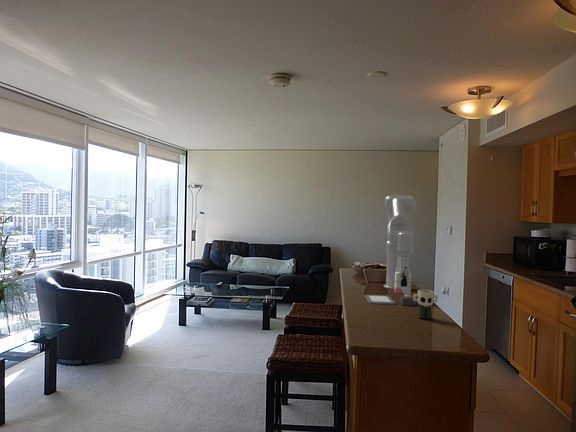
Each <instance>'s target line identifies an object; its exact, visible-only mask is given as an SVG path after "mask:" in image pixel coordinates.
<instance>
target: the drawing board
mask: <svg viewBox="0 0 576 432" xmlns="http://www.w3.org/2000/svg"><path fill="white" fill-rule="evenodd" d="M364 298H365V299H366V300H367V303H368V304H370V305H396V304H397V302H396V301H394V299H392V297H391V295H390V296H389V295H371V294H370V295H369V294H367V295H366V294H365V295H364Z"/></svg>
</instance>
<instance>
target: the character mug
mask: <svg viewBox="0 0 576 432" xmlns="http://www.w3.org/2000/svg"><path fill="white" fill-rule="evenodd" d="M413 297H414V298H413V300H414V301H416V302H417V304H418V305H419V307H418V312H417V317H418V318H420V319H427V320H430V319H432V317H433V316H432V307H431V306H432V305H434V303H437V302H438V295H437V294H436V295H435V294H434V291H433V290H429V289H418V290H417V293H415V294H414V293H413ZM416 297H417V298H416Z"/></svg>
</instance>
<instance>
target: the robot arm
mask: <svg viewBox="0 0 576 432" xmlns="http://www.w3.org/2000/svg"><path fill="white" fill-rule="evenodd" d="M384 207H385V211H386V213H387V225H386V238H387V240H386V242H385V250H386V277H385V284H383V287H384V288H385V289H391V290H394V286H395V272H396V267H398V270H397V272H398V273H399V274H402V279H401V286H402V287H407V274H409V267H410V258H411V256H412V254H413V252H414V251H415V250H414V249H415V244H414V242H415V241H414V239H415V238H414V235H415V233H414V225H413V224H412V223H408V222H406V221H407V220H408V211H415V210H416V207H417V202H416V199H415V198H414V197H413V196H411V195H395V194H394V195H387V196H386V197H385V199H384ZM403 273H404V274H403ZM403 275H404V276H403Z"/></svg>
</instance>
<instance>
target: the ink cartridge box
mask: <svg viewBox="0 0 576 432" xmlns="http://www.w3.org/2000/svg"><path fill="white" fill-rule="evenodd" d="M397 270H398V267H396V272H395V286H394V289H393V290H394V293H395V294H403V295H405V294H409V295H412V293H411V291H412V273H411V267H410V266H409V274H407V287H402V286H401V279H402V274H399V273H398V272H397ZM403 274H404V273H403ZM403 276H404V275H403Z"/></svg>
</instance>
